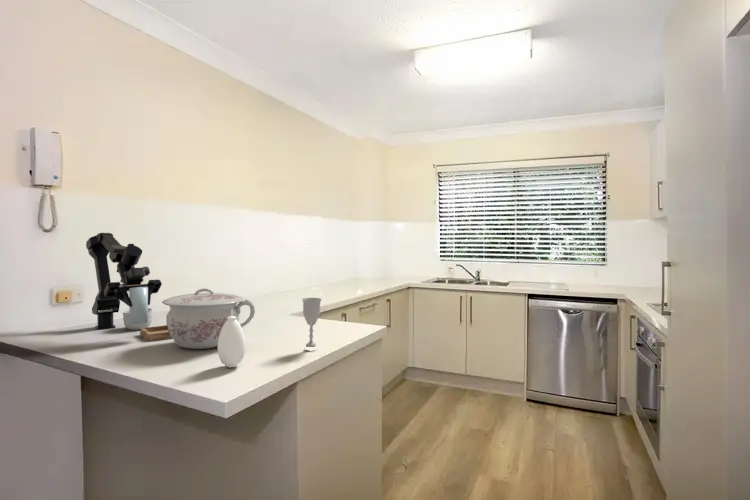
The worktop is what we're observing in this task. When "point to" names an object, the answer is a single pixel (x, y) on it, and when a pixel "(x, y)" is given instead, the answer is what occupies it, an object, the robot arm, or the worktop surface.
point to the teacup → (136, 326)
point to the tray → (155, 333)
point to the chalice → (311, 315)
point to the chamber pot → (202, 317)
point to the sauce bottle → (231, 342)
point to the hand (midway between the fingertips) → (140, 305)
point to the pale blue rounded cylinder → (138, 305)
